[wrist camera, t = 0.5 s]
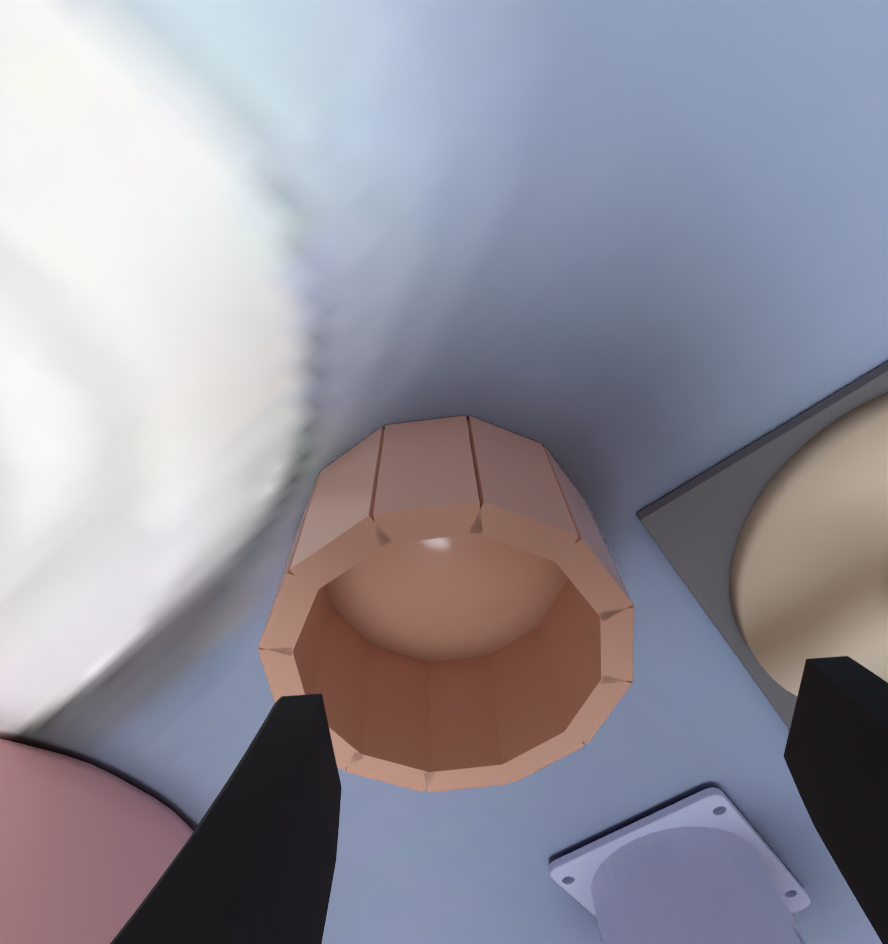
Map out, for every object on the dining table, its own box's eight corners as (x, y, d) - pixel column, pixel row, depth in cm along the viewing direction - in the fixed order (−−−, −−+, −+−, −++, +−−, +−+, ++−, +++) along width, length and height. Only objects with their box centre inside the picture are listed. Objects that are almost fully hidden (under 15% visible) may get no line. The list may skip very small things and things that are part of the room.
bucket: (639, 572, 21) (697, 687, 16) (419, 700, 23) (418, 832, 19) (477, 356, 18) (495, 428, 13) (238, 530, 20) (184, 641, 15)
